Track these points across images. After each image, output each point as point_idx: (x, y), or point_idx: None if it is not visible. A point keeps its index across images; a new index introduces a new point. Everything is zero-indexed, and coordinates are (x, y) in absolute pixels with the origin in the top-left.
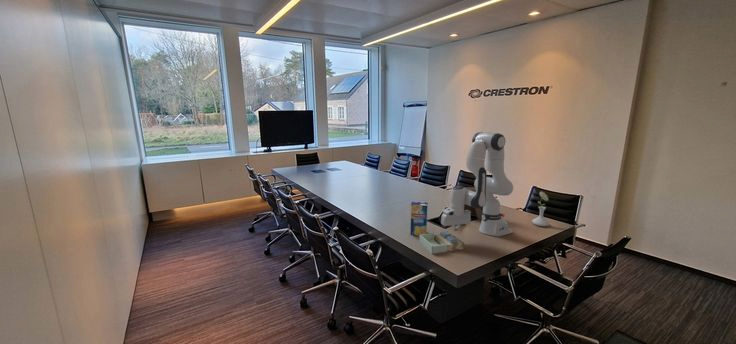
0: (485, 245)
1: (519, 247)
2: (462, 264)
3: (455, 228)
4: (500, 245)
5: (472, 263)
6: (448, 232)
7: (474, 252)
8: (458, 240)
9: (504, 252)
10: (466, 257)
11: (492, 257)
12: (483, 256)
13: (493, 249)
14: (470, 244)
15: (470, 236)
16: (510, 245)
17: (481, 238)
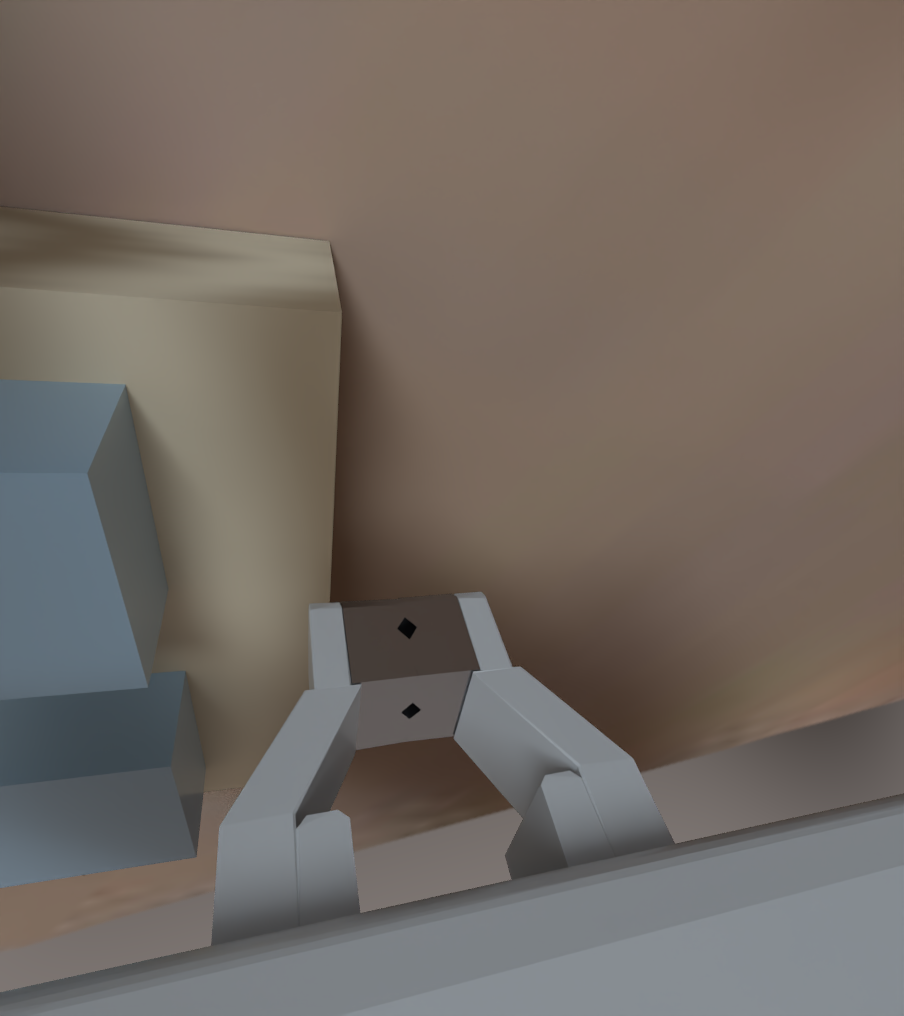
0: (678, 639)
1: (881, 702)
2: (81, 888)
3: (389, 728)
4: (809, 658)
5: (209, 872)
6: (80, 600)
7: (393, 745)
8: (273, 715)
9: (673, 754)
10: (211, 811)
11: (486, 806)
12: (420, 797)
13: (651, 712)
14: (529, 589)
15: (850, 321)
16: (878, 669)
17: (883, 461)
